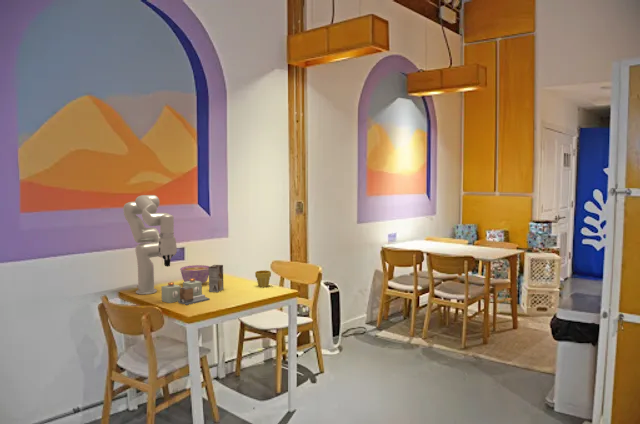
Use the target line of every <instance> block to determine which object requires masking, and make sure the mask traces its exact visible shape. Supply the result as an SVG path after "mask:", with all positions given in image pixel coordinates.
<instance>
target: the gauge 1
mask: <svg viewBox="0 0 640 424" xmlns="http://www.w3.org/2000/svg"><path fill="white" fill-rule="evenodd" d="M167 285H169V287H174V285H175V282H168V283H167Z"/></svg>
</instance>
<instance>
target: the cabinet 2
mask: <svg viewBox="0 0 640 424" xmlns="http://www.w3.org/2000/svg"><path fill="white" fill-rule="evenodd" d="M182 287H191V288H193V297H194V296H199V295H203V288H202V287H203V284H202V282H200V281H195V282H194V283H190V281H187V282H184V281H183V282H182Z"/></svg>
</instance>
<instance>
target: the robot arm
mask: <svg viewBox="0 0 640 424" xmlns="http://www.w3.org/2000/svg"><path fill="white" fill-rule="evenodd" d="M160 204H161V203H160V198H159V197H158V196H157V195H156V194H142V195H139V196H136V198H135V201H129V202H126V203H125V204H124V205H123V216H124V218H125V219H126V222H127V223H128V225H129V227H130V231H131V233H132V237H133V240H134V242H136V243H137V245H136V246H135V255H136V262H137V283H138V285H137V286H136V288H137V290H135V293H136V294H137V295H152V294H156V293H157V291H158V290H157V289H156V288H155V277H154V276H155V275H154V274H155V270H154V269H155V268H154V263H153V261H152V260H151V259H150V258H156V257H157V258H162V259H163V261H164V262H163V264H164V266H165V267H170V266H171V260H172V258H173V257H174V256H176V254H177V251H178V249H177V241H176V237H175V234H174V233H175V232H174V231H175V230H174V229H175V228H174V227H175V225H174V223H175V221H174V220H175V219H174V218H175V217H174V215H172V214H169V213H168V212H157V211H158V208H159V206H160ZM138 215H141V217H139V216H138ZM141 218H142V219H141ZM145 224H146V225H147V226H149V227H146V226H145ZM156 226H157V227H159V226H160V230H158V228H156Z"/></svg>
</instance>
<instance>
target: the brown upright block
mask: <svg viewBox="0 0 640 424" xmlns="http://www.w3.org/2000/svg"><path fill="white" fill-rule="evenodd" d="M182 299H184V302H190V301H193V288H191V287H183V286H181V288H180V301H182Z"/></svg>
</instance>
